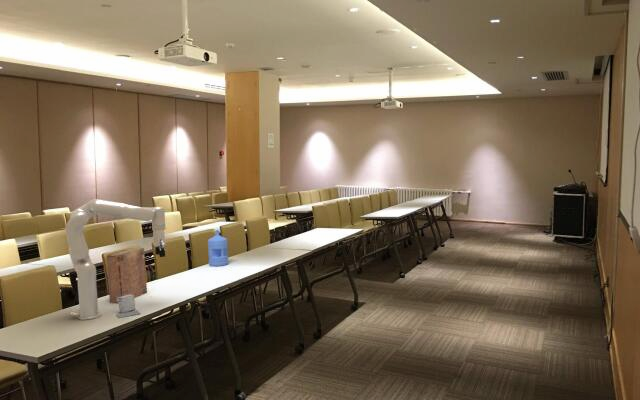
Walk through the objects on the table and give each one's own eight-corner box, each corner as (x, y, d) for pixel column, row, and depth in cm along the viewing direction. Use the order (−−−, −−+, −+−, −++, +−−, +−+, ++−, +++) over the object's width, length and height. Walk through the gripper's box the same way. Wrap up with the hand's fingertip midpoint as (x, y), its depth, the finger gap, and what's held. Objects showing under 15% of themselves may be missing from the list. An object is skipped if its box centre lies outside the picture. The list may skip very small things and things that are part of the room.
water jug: (205, 264, 424) (203, 230, 421) (221, 261, 434) (220, 228, 432) (215, 267, 412) (213, 232, 410) (232, 264, 423) (230, 230, 420)
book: (135, 292, 344) (132, 247, 341) (147, 292, 341) (144, 247, 339) (109, 302, 320) (106, 254, 317) (122, 303, 317) (119, 255, 315)
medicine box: (131, 309, 305) (130, 294, 305) (135, 309, 302) (134, 294, 302) (119, 312, 299) (117, 297, 299) (123, 312, 296) (121, 297, 296)
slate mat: (118, 318, 288) (118, 317, 288) (115, 314, 294) (115, 314, 294) (140, 314, 294) (140, 313, 294) (137, 310, 301) (137, 310, 301)
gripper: (149, 226, 316) (150, 254, 318) (156, 229, 301) (157, 258, 303) (161, 225, 320) (162, 252, 321) (169, 228, 305) (170, 257, 307)
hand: (160, 255), depth 312 cm, fingers open, 9 cm apart
